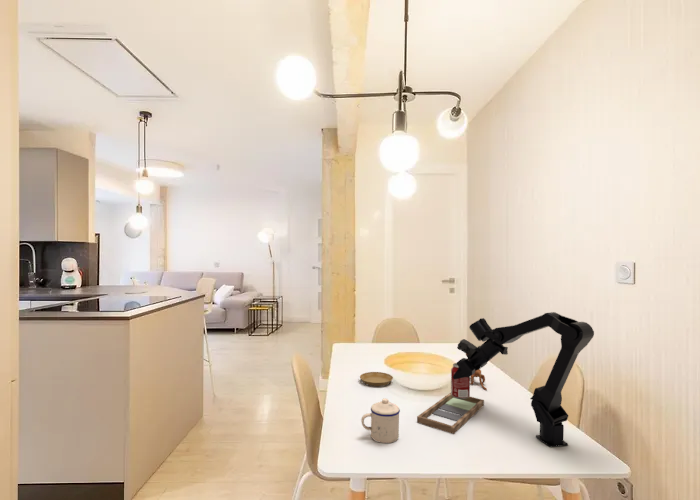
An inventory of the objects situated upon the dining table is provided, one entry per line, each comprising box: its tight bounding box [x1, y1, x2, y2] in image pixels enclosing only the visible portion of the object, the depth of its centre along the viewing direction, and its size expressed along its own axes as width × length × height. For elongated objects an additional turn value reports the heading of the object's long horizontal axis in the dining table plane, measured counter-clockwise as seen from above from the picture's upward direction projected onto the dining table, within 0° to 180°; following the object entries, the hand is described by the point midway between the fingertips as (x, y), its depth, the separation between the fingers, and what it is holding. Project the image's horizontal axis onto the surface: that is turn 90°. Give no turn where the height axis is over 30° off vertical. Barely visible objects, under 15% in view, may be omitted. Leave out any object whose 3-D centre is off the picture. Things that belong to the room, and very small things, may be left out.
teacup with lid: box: [360, 398, 401, 444], centre depth 117 cm, size 12×9×12 cm
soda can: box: [450, 362, 471, 399], centre depth 141 cm, size 7×7×12 cm
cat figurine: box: [465, 353, 488, 391], centre depth 168 cm, size 18×7×14 cm, turn 11°
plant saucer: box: [359, 371, 394, 387], centre depth 167 cm, size 15×15×3 cm
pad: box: [445, 398, 476, 411], centre depth 143 cm, size 8×11×1 cm
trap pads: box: [431, 404, 468, 422], centre depth 135 cm, size 11×11×1 cm
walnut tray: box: [416, 392, 485, 435], centre depth 135 cm, size 30×13×2 cm, turn 143°
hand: (456, 375), depth 142 cm, fingers closed on soda can, 7 cm apart
